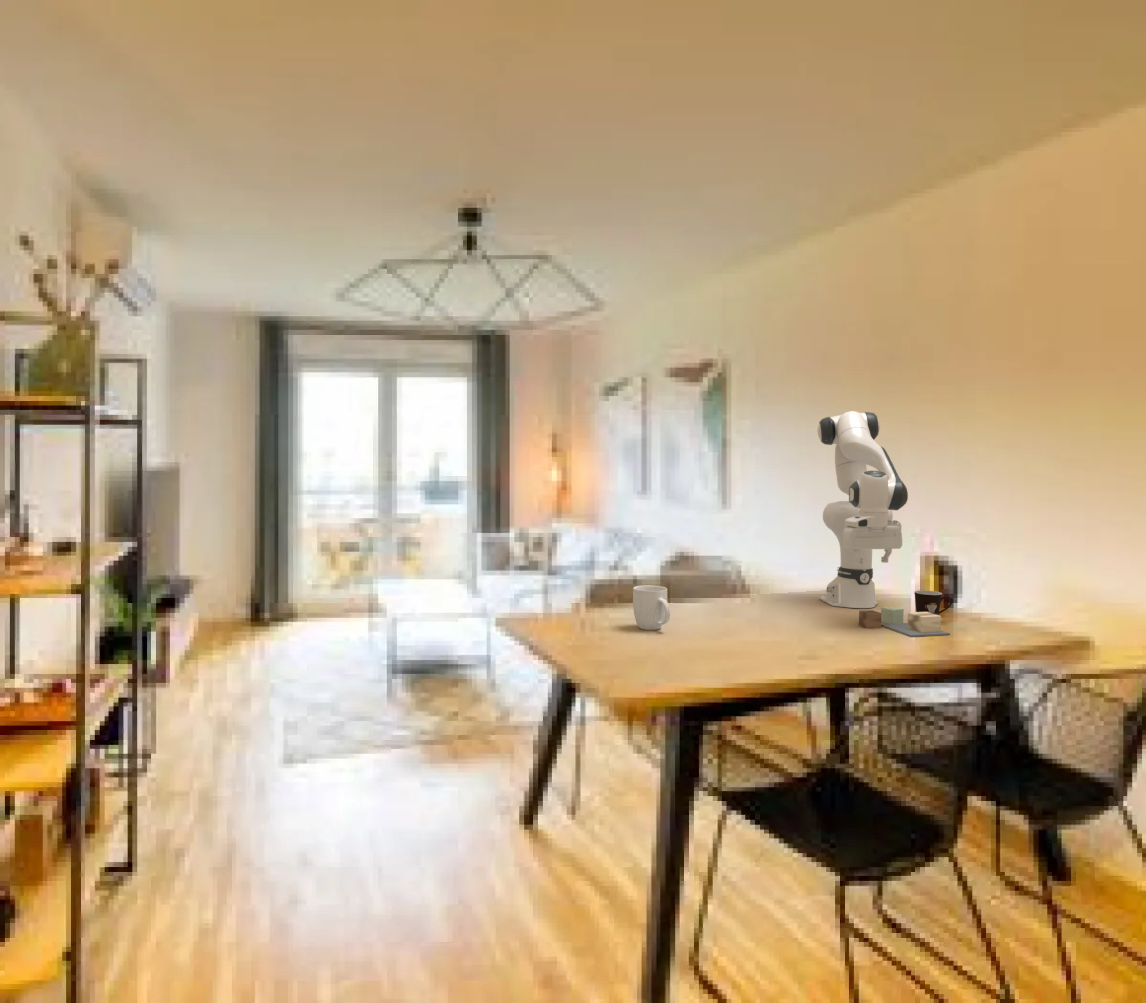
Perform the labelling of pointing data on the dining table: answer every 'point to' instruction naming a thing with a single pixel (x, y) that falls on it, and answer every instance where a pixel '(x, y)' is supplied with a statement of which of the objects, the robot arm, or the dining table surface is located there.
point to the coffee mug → (929, 601)
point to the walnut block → (870, 619)
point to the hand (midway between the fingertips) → (871, 562)
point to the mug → (650, 606)
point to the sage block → (892, 615)
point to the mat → (905, 630)
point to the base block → (924, 622)
